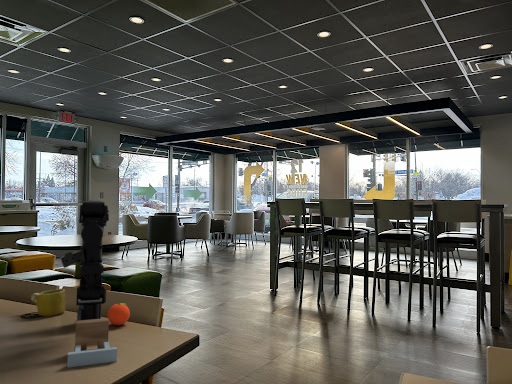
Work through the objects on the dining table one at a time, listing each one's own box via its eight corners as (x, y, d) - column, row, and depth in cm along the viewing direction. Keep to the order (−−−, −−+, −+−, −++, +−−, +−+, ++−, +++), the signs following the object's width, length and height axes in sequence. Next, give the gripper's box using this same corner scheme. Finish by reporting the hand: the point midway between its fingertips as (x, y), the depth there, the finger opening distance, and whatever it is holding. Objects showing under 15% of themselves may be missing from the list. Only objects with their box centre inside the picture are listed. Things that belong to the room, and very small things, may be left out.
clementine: (125, 320, 133) (126, 299, 134) (136, 324, 129) (137, 302, 129) (103, 325, 127) (104, 303, 128) (113, 329, 123) (114, 306, 123)
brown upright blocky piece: (74, 351, 102) (76, 320, 103) (107, 348, 105) (108, 318, 106) (73, 363, 94) (75, 329, 94) (109, 359, 97) (110, 326, 98)
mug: (77, 306, 144) (67, 281, 142) (55, 321, 135) (44, 295, 133) (53, 309, 149) (44, 285, 147) (30, 324, 139) (20, 299, 138)
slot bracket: (68, 358, 97) (68, 346, 97) (114, 352, 102) (115, 341, 102) (67, 367, 91) (67, 354, 92) (116, 361, 96) (117, 348, 96)
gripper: (64, 240, 124) (61, 290, 123) (61, 244, 107) (58, 302, 106) (101, 240, 129) (99, 287, 128) (104, 244, 112) (102, 299, 111)
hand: (90, 293), depth 118 cm, fingers closed
